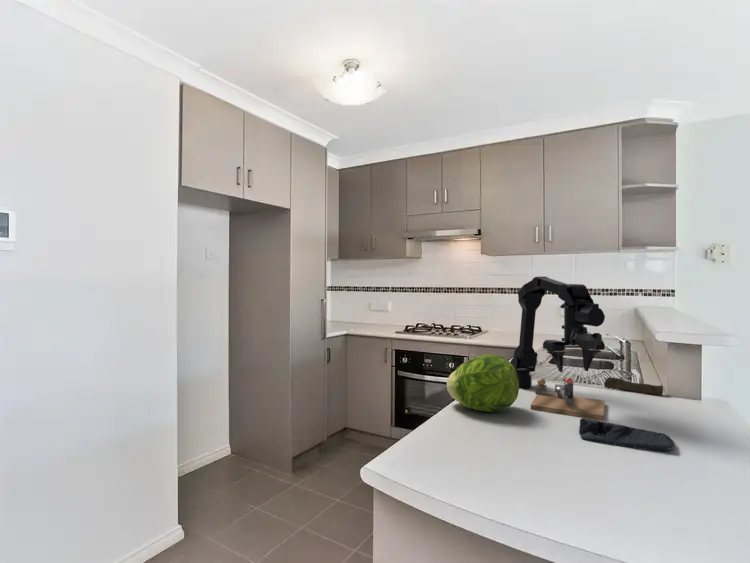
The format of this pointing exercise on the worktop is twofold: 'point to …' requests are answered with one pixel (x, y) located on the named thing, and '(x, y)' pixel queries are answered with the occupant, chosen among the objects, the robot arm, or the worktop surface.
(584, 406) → the tan wooden panel
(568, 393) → the lever
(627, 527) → the worktop surface
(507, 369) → the lettuce
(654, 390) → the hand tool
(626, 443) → the dark slate chunk
